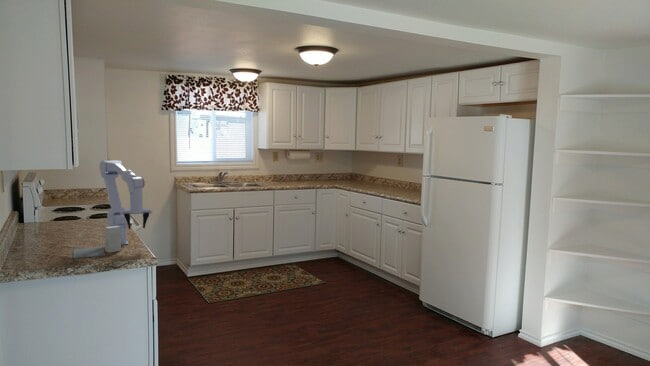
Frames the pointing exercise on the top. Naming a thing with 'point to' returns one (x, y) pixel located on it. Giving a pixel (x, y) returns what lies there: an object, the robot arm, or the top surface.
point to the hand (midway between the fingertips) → (136, 228)
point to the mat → (88, 252)
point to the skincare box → (112, 239)
